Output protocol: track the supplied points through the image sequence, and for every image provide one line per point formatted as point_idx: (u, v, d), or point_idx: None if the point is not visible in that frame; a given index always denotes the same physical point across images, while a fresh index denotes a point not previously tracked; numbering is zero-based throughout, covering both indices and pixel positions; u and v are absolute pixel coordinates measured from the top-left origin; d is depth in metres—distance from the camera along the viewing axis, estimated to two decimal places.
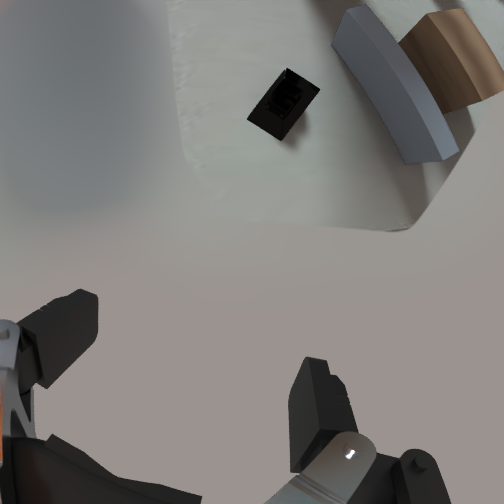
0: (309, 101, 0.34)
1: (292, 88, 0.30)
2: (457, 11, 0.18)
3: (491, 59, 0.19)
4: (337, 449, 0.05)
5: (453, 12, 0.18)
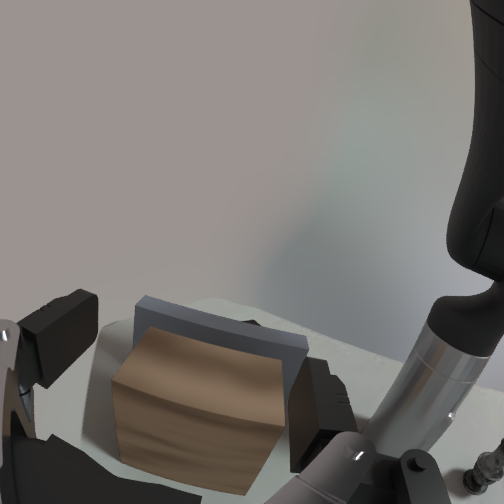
0: None
1: None
2: (278, 408, 0.18)
3: (173, 389, 0.18)
4: (337, 449, 0.05)
5: (278, 398, 0.19)
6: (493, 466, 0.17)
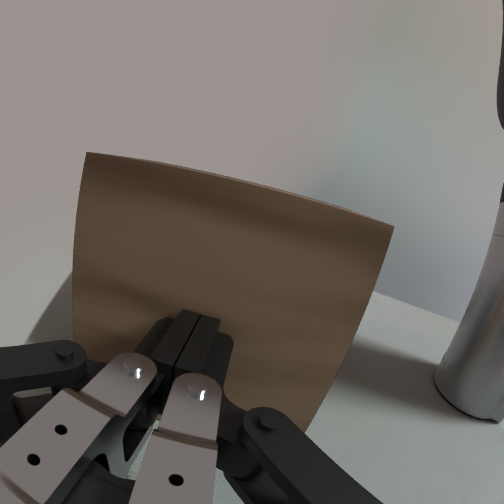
0: None
1: None
2: (369, 217, 0.11)
3: (189, 169, 0.11)
4: (178, 384, 0.06)
5: None
6: None
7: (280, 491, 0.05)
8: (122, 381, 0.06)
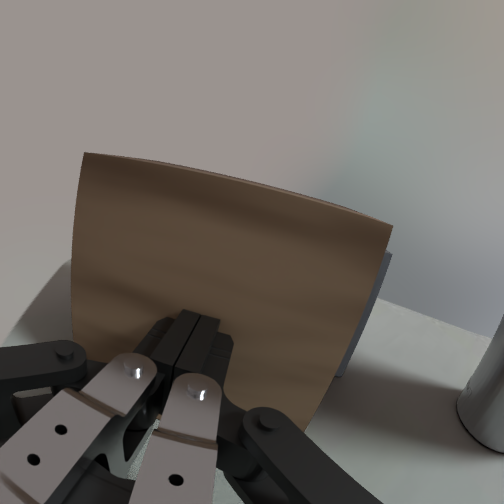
0: None
1: None
2: (367, 216, 0.11)
3: None
4: (178, 384, 0.06)
5: (361, 213, 0.12)
6: None
7: (280, 491, 0.05)
8: (122, 380, 0.06)
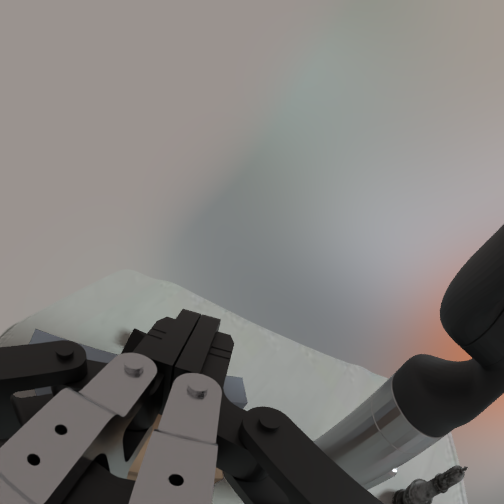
0: None
1: None
2: None
3: None
4: (178, 384, 0.06)
5: None
6: (423, 498, 0.22)
7: (280, 491, 0.05)
8: (122, 381, 0.06)
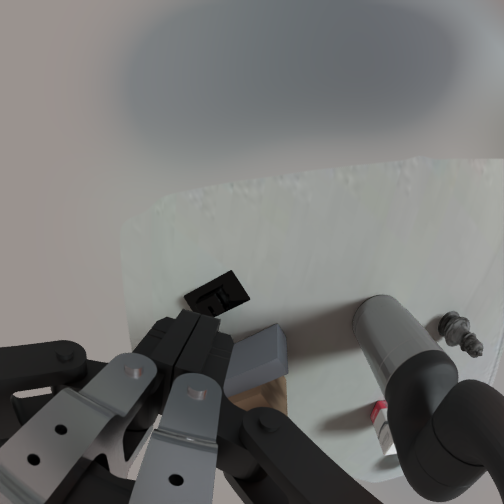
0: (235, 305, 0.45)
1: (217, 306, 0.41)
2: None
3: None
4: (178, 384, 0.06)
5: None
6: (455, 342, 0.39)
7: (280, 491, 0.05)
8: (122, 381, 0.06)
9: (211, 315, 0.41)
